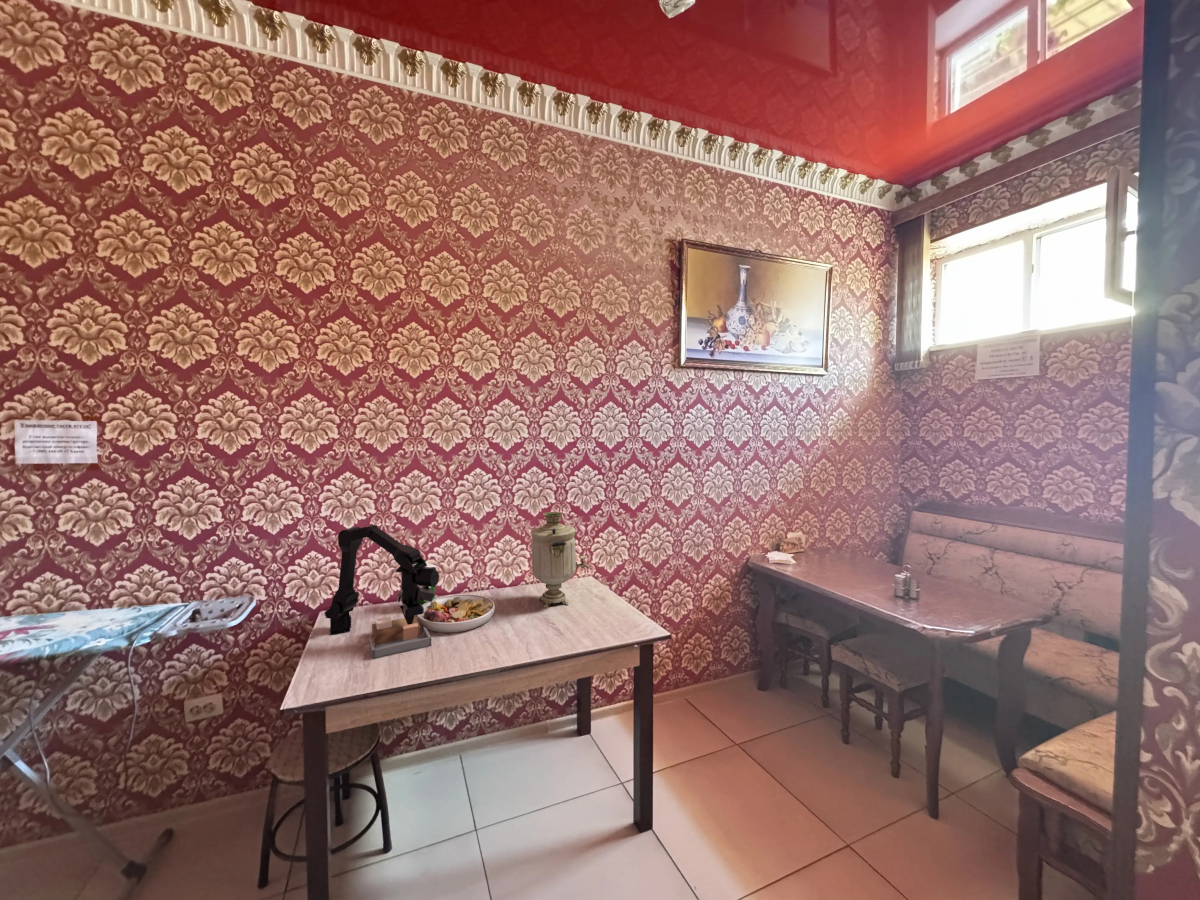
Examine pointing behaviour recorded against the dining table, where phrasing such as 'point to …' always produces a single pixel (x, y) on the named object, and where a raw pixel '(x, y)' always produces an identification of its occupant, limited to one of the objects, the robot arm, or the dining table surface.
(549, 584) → the samovar
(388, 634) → the board
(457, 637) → the dining table surface
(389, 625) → the cream tile
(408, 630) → the terracotta tile
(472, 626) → the bowl
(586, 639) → the dining table surface
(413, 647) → the tray
